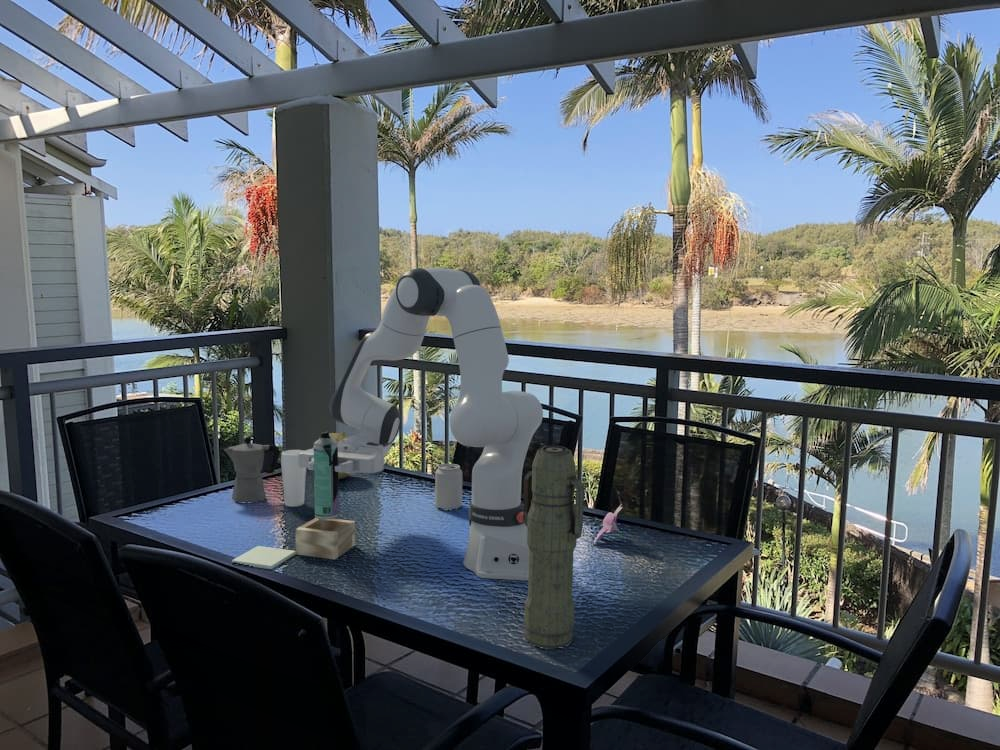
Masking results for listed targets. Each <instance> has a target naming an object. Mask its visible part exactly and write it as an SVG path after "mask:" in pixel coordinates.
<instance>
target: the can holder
mask: <svg viewBox="0 0 1000 750" xmlns="http://www.w3.org/2000/svg"><path fill="white" fill-rule="evenodd" d="M353 546H354V547H355V546H356V521H355V520H347V519H340V518H334V519H328V520H322V519H317V518H315V517H314V518H313V519H311V520H309V521H307V522H305V523H304V524H302V525H300V526H298V527H297V528H295V551H296V554H295V555H299V556H306V557H313V558H320V559H321V558H322V559H327V560H334V561H335V560H336V559H338V558H339V557H341V556H342V555H343V554H345V553H346V552H348V551H350V550H351V549H353ZM350 548H351V549H350Z"/></svg>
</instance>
